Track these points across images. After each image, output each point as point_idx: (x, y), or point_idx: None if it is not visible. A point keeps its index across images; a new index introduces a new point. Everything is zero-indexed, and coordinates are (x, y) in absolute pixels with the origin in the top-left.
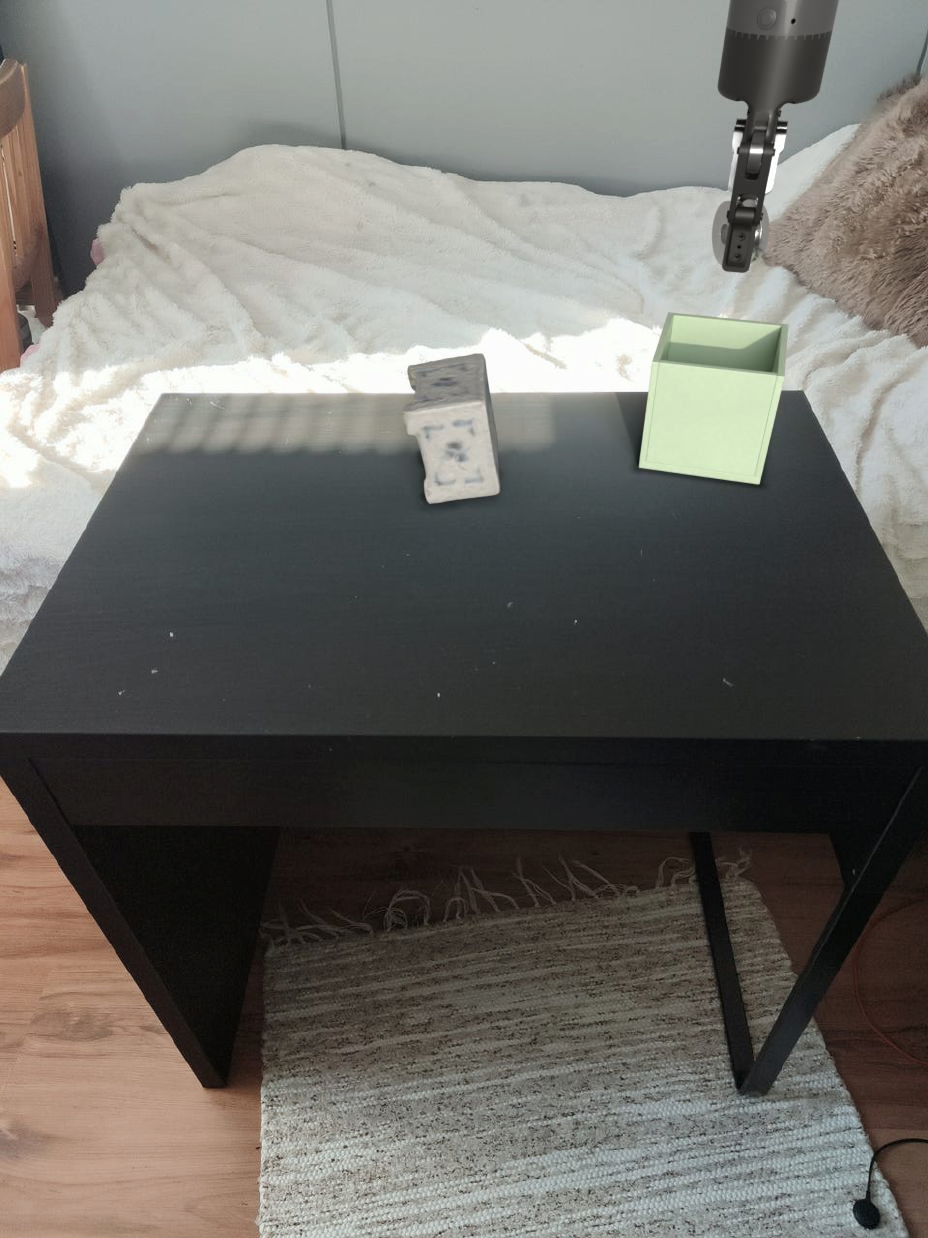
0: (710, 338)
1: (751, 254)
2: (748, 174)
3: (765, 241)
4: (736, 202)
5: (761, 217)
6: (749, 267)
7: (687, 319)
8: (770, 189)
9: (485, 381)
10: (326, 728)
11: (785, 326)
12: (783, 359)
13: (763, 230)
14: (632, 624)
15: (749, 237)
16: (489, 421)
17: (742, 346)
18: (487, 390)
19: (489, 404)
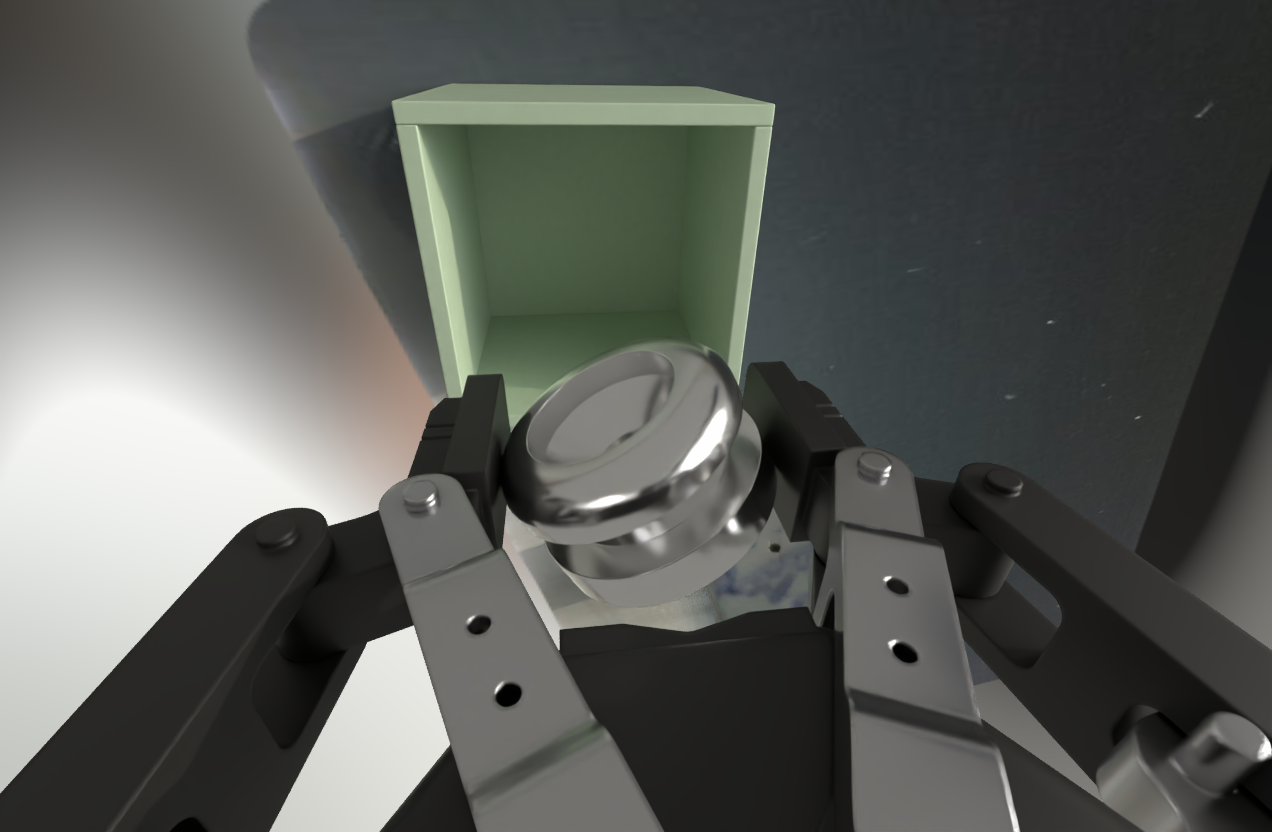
0: (459, 305)
1: (802, 387)
2: (1132, 720)
3: (726, 363)
4: (1044, 619)
5: (1018, 480)
6: (784, 363)
7: (462, 382)
8: (935, 542)
9: (799, 605)
10: (1156, 482)
11: (417, 111)
12: (667, 111)
13: (737, 401)
14: (1067, 254)
15: (863, 444)
16: (796, 553)
17: (447, 217)
18: (748, 586)
19: (744, 566)
